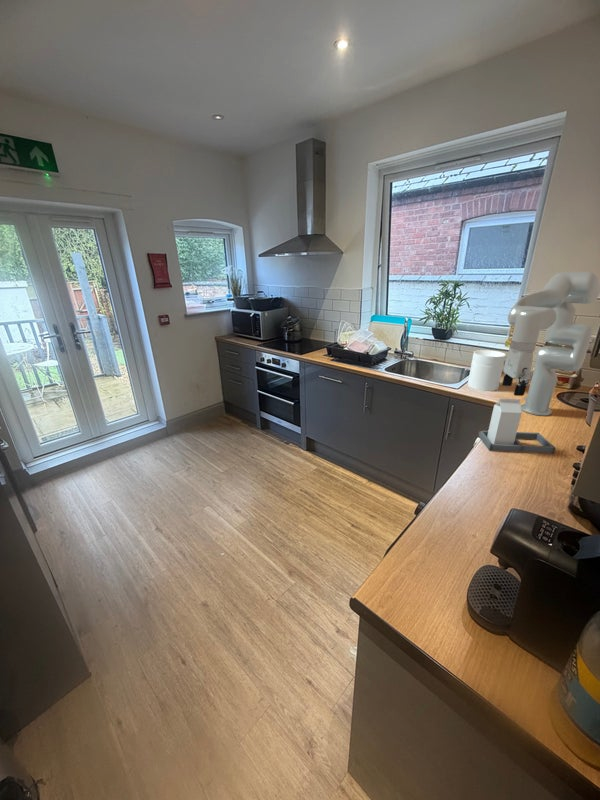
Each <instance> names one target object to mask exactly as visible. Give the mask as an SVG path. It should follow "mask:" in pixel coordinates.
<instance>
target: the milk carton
mask: <svg viewBox="0 0 600 800" xmlns="http://www.w3.org/2000/svg"><path fill="white" fill-rule="evenodd" d="M522 414H523V410H521V399H517V398H499V400H498V401H497V402H496V403H494V405H493V410H492V413H491V416H490V417H491V418H490V421H489V426H488V430H487V431H488V435H487V438H488V439H489V440H490V442H491V443H492V444H509V445H514V441H515V437H516V433H517V432H518V430H519V425H520V420H521V417H522Z"/></svg>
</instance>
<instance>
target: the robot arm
mask: <svg viewBox="0 0 600 800" xmlns="http://www.w3.org/2000/svg"><path fill="white" fill-rule="evenodd" d="M599 295H600V280H599V278H598V276H597V274H595V273H594V272H590V271H561V272H558V273H555V274H554V275H553V276H552V277H551V278H550V279H549V280H548V281H547V283H546V284H545V285H544V286H543V288H542V289H541V290H537V291H535V292H532V293H530V294H527V295H525V296H522V297H520V298H519V299H517V301H516V303H514V305H513V306H512V308H510V311H509V312H508V315H507V322H508V324H509V325H510V326H513V327H514V328H513V332H512V337H511V341H510V344H509V345H510V346H509V349H508V351H507V354H506V357H505V361H504V366H503V370H502V372H504V373H503V378H502V379H503V380H502V383H501V386H502V387H511V386H512V385H513V380H516V384H515V388H514V390H513V391H514V393H513V396H515V397H516V396H519V397H520V396H521V397H523V396H524V395H525V393H526V388H527V386H528V384H529V383H530V384H529V387H528V392H527V395H526V397H524V398H523V399H524V401H525V402H524V403H522V404H520V406H521V411H522V412H525V413H527V414H530V415H535V416H540V417H543V416H545V417H546V416H550V415H552V413H553V411H552V410H551V408H550V405H551V401H552V398H553V395H554V391H555V388H556V384H557V382H558V375H557V371H555V370H560V371H561V370H562V371H566V372H567V371H568V372H577V371H580V370H581V368H582V367H583V364H584V363H585V362H584V361H585V358H586V355H587V352H588V349H589V345H590V343H591V339H592V337H593V336H592V334H593V329H592V327H591V326H590V325H588V324H585V323H574V318H575V316H576V308H575V305H574V304H585V305H587V304H592V303H594V302H595V301H597V299H598V297H599ZM540 330H545V334H544V340H545V342H546V343H549V344H554V345H561V346H569V347H572V348H568V347H561V346H560V347H559V346H553V345H551V346H550V345H545V346H541V347H539V348H538V349H537V350H536V346H537V342H538V338H539V335H540ZM535 351H536V352H535ZM534 352H535V355H534ZM533 357H534V365H533ZM532 366H534V367H533V372H532V375H531V369H532Z"/></svg>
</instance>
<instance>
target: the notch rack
mask: <svg viewBox="0 0 600 800" xmlns="http://www.w3.org/2000/svg"><path fill="white" fill-rule="evenodd" d="M488 431H489V430H478V433H477V434H478V435H477V437H478V438H479V439H480V440H481V442H482V443H483V444H484V446H485V447H486V448H487V450H488V451H490V452H491V451H492V452H493V451H494V452H512V453H531V454H553V455H554V454H555V451H556V449H557V448H556V446H554V445H553V444H552V443H551V442H550V441H549V440H547V439H546V438H545V437H544V436H543V435H542V434H541V433H539V432H527V431H525V432H524V431H517V433H516V437H515V441H514V445H509V444H492V443H491V442H490V440H489V439H488V438H487V435H488ZM520 439H524V440H535V441H537V442H538V443H539V444H540V445H531V444H530V445H528V444H527V445H525V444H523V443H522V442H520Z"/></svg>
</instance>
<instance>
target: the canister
mask: <svg viewBox="0 0 600 800" xmlns="http://www.w3.org/2000/svg"><path fill="white" fill-rule="evenodd" d="M506 357H507V354H506V353H505V352H502V351H498V350H491V349H477V350H474V351H473V354H472V360H471V364H470V369H469V375H468V381H467V386H468V387H469V388H470V389H473V388H474V389H473V390H476V389H478V390H477V391H481V390H483V391H482V392H495V390H496V391H498V390H499V387H500V383H501V379H502V374H503V369H504V364H505V361H506Z"/></svg>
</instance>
